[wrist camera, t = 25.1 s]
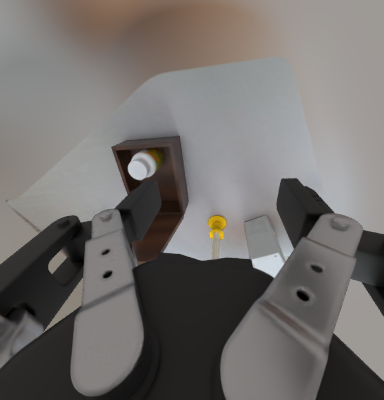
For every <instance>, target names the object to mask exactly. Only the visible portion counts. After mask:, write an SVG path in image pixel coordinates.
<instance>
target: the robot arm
mask: <svg viewBox="0 0 384 400" xmlns="http://www.w3.org/2000/svg"><path fill="white" fill-rule="evenodd" d="M160 208H161V197H160V192H159V188H158V184H157V181H155V180H147V181H144V182H143V183H142V184H141V185H140V186H139V187H138V188H136V189H134V190H133V191H131V192H130V193H129V194H128V196H126V197H125V199H124V200H123V201H122V202H121V203H120V204H119V205H118V206H117V207H116V208H115V209H108V210H104V211H102V212H100V213H98V214H96V215H95V216H94V217H93V219H92V221H87V222H82V223H81V222H80V220H79V219H78V217H77V216H73V215H72V216H66V217H63V218H60V219H58V220H56V221H55V222H53V223H52V224H51V225H49V226H48V227H47V228H46V229H44V230H43V231H42V232H41V233H39V234H38V235H37V236H36V237H34V238H33V239H32V240H31V241H29V242H28V243H27V244H25V245H24V246H23V247H22V248H20V249H19V250H18V251H17V252H16V253H14V254H13V255H12V256H10V257H9V258H8V259H7V260H6V261H4V262H3V263H2V264H0V400H384V381H383V380H382V379H381V378H380V377H379V376H378V375H377V374H376V373H375V372H373V371H372V370H371V369H370V368H369V367H368V366H367V365H366V364H365V363H364V362H363V361H362V360H361V359H360V358H359V357H358V356H357V355H356V354H355V353H354V352H353V351H352V350H351V349H350V348H349V347H347V346H346V345H345V344H344V343H343V342H342V341H341V340H340V339H339V338H338V337H337V336H336V335H335V334H334V333H333V331H334V329H335V325H336V322H337V319H338V316H339V313H340V310H341V307H342V304H343V301H344V298H345V294H346V291H347V288H348V285H349V282H350V279H353V280H357V281H360V282H362V283H363V285H364V286H365V288H366V290H367V291H368V293H369V294H370V296H371V297H372V299H373V301H374V302H375V304H376V305H377V306H378V308H379V310H380V311H381V313H382V315H383V316H384V234H379V233H375V232H370V231H365V230H363V227H362V226H361V225H360V224H359V223H358V222H357V221H355V220H354V219H352V218H349V217H347V216H344V215H340V214H335V213H334V212H333V211H332V209H331V208H330V207H329V206H328V205H327V204H326V203H325V202H324V201H323V200H322V198H321V197H319V195H318V194H317V193H316V192H315V191H314V190H312V189H310V188H309V187H307V186H303V185H302V184H301V183H300V181H299V180H298V179H297V178H288V179H282V180H281V183H280V188H279V193H278V198H277V211H278V213H279V216H280V218H281V220H282V222H283V225H284V227H285V229H286V232H287V234H288V236H289V239H290V241H291V243H292V246H293V248H294V250H293V252H292V253H291V255H290V256H289V258H288V259H287V261H286V262H285V263H284V265H283V266H282V268H281V269H280V271H279V272H278V274H277V275H276V276H275V278H274V277H272V276H271V275H269V274H268V273H266V272H264V271H261V270H259V269H257V268H253V265H252V259H239V258H221V259H213V260H206V261H200V260H197V259H194V258H191V257H187V256H184V255H181V254H171V253H159V254H158V256H157V258H156V260H152V261H148V262H145V263H143V264H141V265H138V262H137V258H136V255H135V251H134V248H133V245H132V242H133V241H142V239H143V238H144V236H145V234H146V232H147V231H148V229H149V227H150V226H151V224H152V222H153V220H154V219H155V217H156V215H157V213H158V212H159V210H160ZM61 249H62V250H63V251H64V253H65V254H66V255H67V258H66V260H65V261H64V262H63V263H62V264H61V265H60V266H59V267H58V268H57V270H56V271H55V272H54V273H53V274H51V273H50V272H49V270H48V264H49V262H50V260H51V259H52V258H53V257H54V256H55V255H56V254H57V253H58V252H59V251H60V250H61ZM82 278H83V289H82V304H81V306H80V307H79V308H77V309H76V310H75V311H73V312H72V313H70V314H69V315H68V316H66V317H65V318H64V319H62V320H61V321H59V322H58V323H56V324H55V325H54V326H52V327H51V328H49V329H48V330H47V331H45V329H46V328H47V326H48V325H49V324H50V322H51V321H52V319H53V318H54V317H55V315H56V314H57V312H58V311H59V309H60V308H61V307H62V305H63V304H64V302H65V301H66V300H67V299H68V297H69V296H70V294H71V293H72V292H73V290H74V289H75V287H76V286H77V285H78V283H79V282H80V280H81V279H82ZM44 331H45V332H44ZM43 332H44V333H43Z"/></svg>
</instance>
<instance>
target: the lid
mask: <svg viewBox="0 0 384 400" xmlns="http://www.w3.org/2000/svg"><path fill="white" fill-rule="evenodd" d="M183 218H184V215H173V214H157V215H156V217H155V219H154V220H153V222H152V224H151V226H150V227H149V229H148V231H147V232H146V234H145V236H144V238H143V239H142V241H133V242H132V245H133V248H134V251H135V255H136V258H137V262H138V265H141V264H143V263H145V262H148V261H152V260H156V258H157V256H158V254H159V253H163V252H164V250H165V248H166V246H167V245H168V243H169V241H170V240H171V238H172V236H173V235H174V233H175V231H176V230H177V228H178V226H179V225H180V223H181V221H182V220H183Z"/></svg>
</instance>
